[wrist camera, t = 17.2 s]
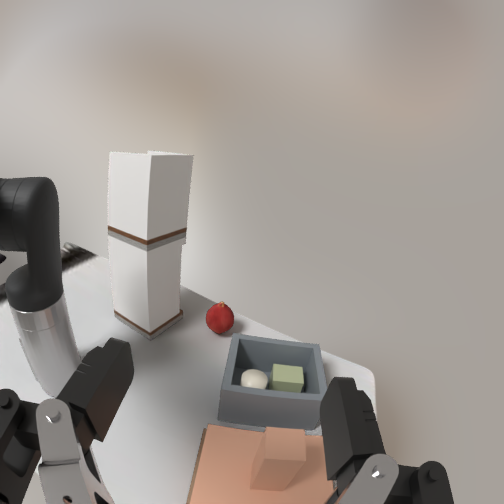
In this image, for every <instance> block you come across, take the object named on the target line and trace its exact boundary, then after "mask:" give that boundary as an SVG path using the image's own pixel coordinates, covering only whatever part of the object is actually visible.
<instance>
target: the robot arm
mask: <svg viewBox="0 0 504 504" xmlns="http://www.w3.org/2000/svg"><path fill="white" fill-rule="evenodd" d="M0 250H3V251H23V252H27V260H28V264H26V265H24V266H22V267H20V268H18V269H16V270H15V271H14V272H12V274H11V275H10V276H9V277H8V278H7V281H6V283H5V290H6V295H7V298H8V302H9V305H10V308H11V311H12V315H13V318H14V321H15V324H16V327H17V329H18V332H19V335H20V339H19V340H20V343H21V346H22V348H23V351H24V353H25V356H26V358H27V360H28V363H29V365H30V367H31V369H32V372H33V374H34V376H35V378H36V380H37V381H39V382H40V385H41V387H42V388H43V390H44V391H45V392H46V393H47V394H49V395H51V396H53V397H56V398H55V399H47V400H45V401H43V402H41V403H40V404H37V403H32V402H27V401H22V400H20V399H19V397H18V395H17V394H16V393H15V392H14V391H13V390H11V389H1V390H0V504H22V501H23V498H24V496H25V493H26V491H27V488H28V486H29V483H30V481H31V478H32V475H33V473H34V471H35V469H36V466H37V464H38V462H39V460H40V457H41V455H42V464H39V466H38V471H39V476H40V480H41V485H42V488H43V492H44V496H45V500H46V503H47V504H115V503H114V501H113V499H112V497H111V496H110V494H109V492H108V491H107V489H106V487H105V485H104V482H103V480H102V477H101V475H100V472H99V469H98V466H97V463H96V460H95V457H94V454H93V451H92V448H91V443H92V441H93V439H96V440H99V441H101V442H103V440H104V438H105V436H106V434H107V432H108V430H109V427H110V425H111V423H112V421H113V419H114V417H115V415H116V413H117V411H118V409H119V407H120V404H121V402H122V400H123V398H124V396H125V394H126V392H127V390H128V388H129V386H130V384H131V382H132V380H133V376H134V366H133V360H132V354H131V348H130V344H129V343H128V342H125V341H122V340H118V339H115V338H110V339H109V340H108V341H107V343H106V344H105V346H104V347H103V348H102V347H99V346H97V347H96V348H94V349H93V350H91V351H90V352H88V353H87V355H86V356H85V357H84V359H83V360H82V362H81V359H80V356H79V352H78V349H77V345H76V342H75V338H74V334H73V331H72V327H71V322H70V318H69V314H68V309H67V305H66V300H65V295H64V290H63V284H62V264H61V253H60V239H59V202H58V195H57V190H56V187H55V185H54V183H53V182H52V180H50V179H49V178H47V177H27V178H13V179H2V178H0ZM373 411H374V410H373V406H372V403H371V400H370V399H369V397H368V396H367V395H366V393H365V392H364V391H363V390H357V387H356V384H355V381H354V379H353V378H348V377H334V378H333V379H332V381H331V383H330V385H329V387H328V389H327V391H326V393H325V395H324V397H323V399H322V401H321V404H320V420H321V428H322V436H323V445H324V454H325V463H326V473H327V481H330V480H337V487H336V488H335V489H334V491H333V492H332V493H331V495H330V496H329V497H328V499H327V500H326V501H325V502H324V504H454V501H453V497H452V492H451V488H450V484H449V480H448V476H447V473H446V470H445V468H444V467H443V466H442V465H441V464H440V463H438V462H435V461H428V462H426V463H424V464H423V465H421V466H420V467H410V466H403V465H398V464H397V462H396V461H395V460H394V459H393V458H392V457H390V456H388V455H386V453H385V450H384V446H383V442H382V439H381V435H380V431H379V428H378V424H377V421H376V417H375V413H373Z"/></svg>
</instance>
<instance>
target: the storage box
mask: <svg viewBox="0 0 504 504" xmlns="http://www.w3.org/2000/svg"><path fill="white" fill-rule="evenodd" d="M326 391H327V384H326V378H325V373H324V367H323V362H322V357H321V351H320V346H319V344H310V343H301V342H293V341H285V340H277V339H270V338H263V337H256V336H249V335H243V334H237V333H233V335H232V340H231V345H230V349H229V354H228V359H227V364H226V368H225V373H224V378H223V382H222V387H221V394H220V403H219V412H218V420H219V421H225V422H231V423H238V424H245V425H253V426H261V427H276V428H289V429H305V430H313V429H314V428H315V426H316V424H317V422H318V421H319V419H320V404H321V401H322V399H323V397H324V395H325V393H326Z"/></svg>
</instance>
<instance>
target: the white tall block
mask: <svg viewBox="0 0 504 504" xmlns="http://www.w3.org/2000/svg"><path fill="white" fill-rule="evenodd" d="M192 163H193V155H188V154H179V153H169V152H159V151H148V154H137V153H123V152H110V159H109V177H108V245H109V263H110V277H111V287H112V297H113V305H114V313H115V317H116V318H117V319H118V320H120V321H121V322H123V323H124V324H126V325H127V326H129V327H130V328H132V329H133V330H135V331H137V332H138V333H140V334H141V335H143V336H144V337H146V338H148V339H149V340H152V339H153V338H155V337H156V336H158V335H159V334H161V333H162V332H163V331H165V330H166V329H168V328H169V327H171V326H172V325H173V324H175V323H176V322H178V321H179V320H181V319H182V318H183V310H181V309H180V272H181V251H182V245H183V244H186V230H187V216H188V204H189V193H190V183H191V173H192Z"/></svg>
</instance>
